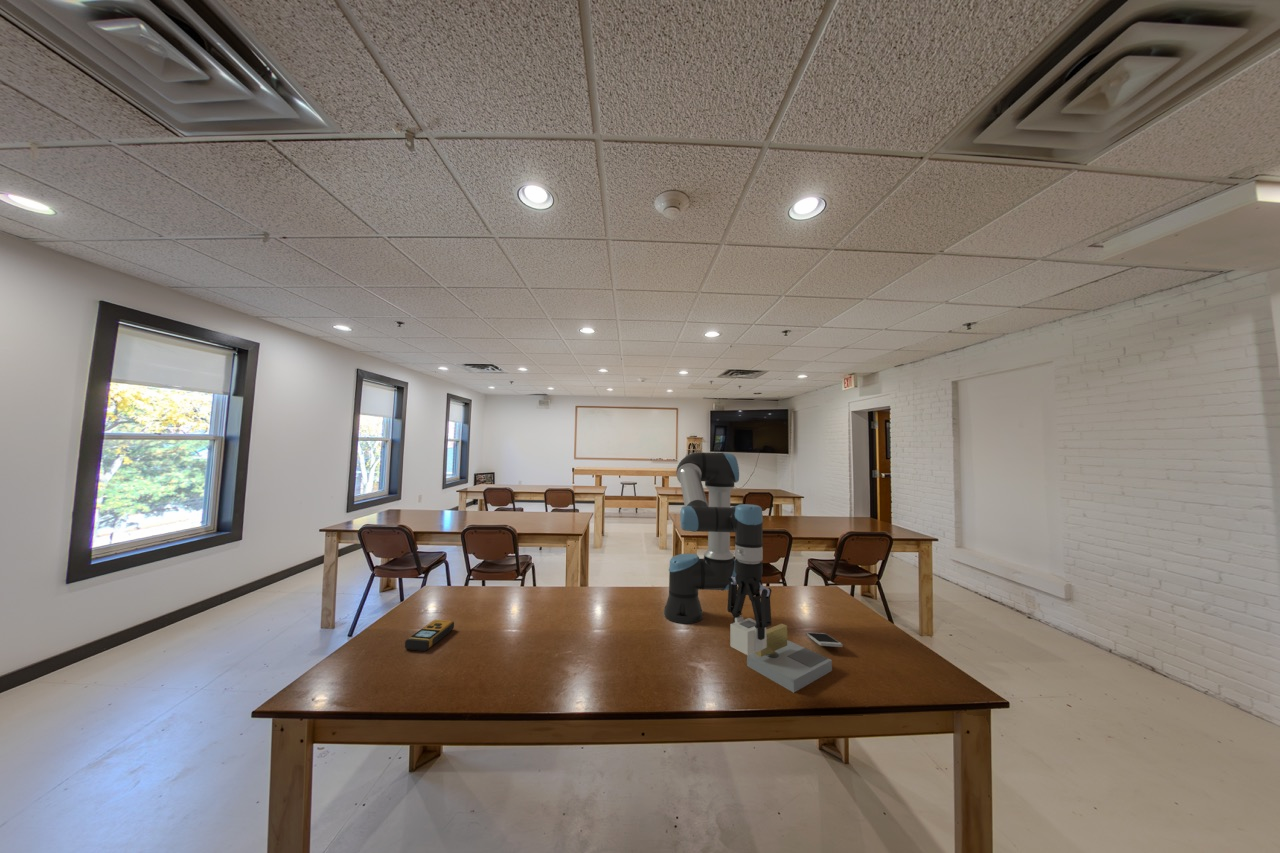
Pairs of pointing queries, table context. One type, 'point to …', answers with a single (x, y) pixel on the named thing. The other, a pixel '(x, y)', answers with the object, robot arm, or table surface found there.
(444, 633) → the electronic device
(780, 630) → the yellow rectangular block
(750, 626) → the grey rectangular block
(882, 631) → the table surface
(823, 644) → the smartphone
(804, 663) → the housing
